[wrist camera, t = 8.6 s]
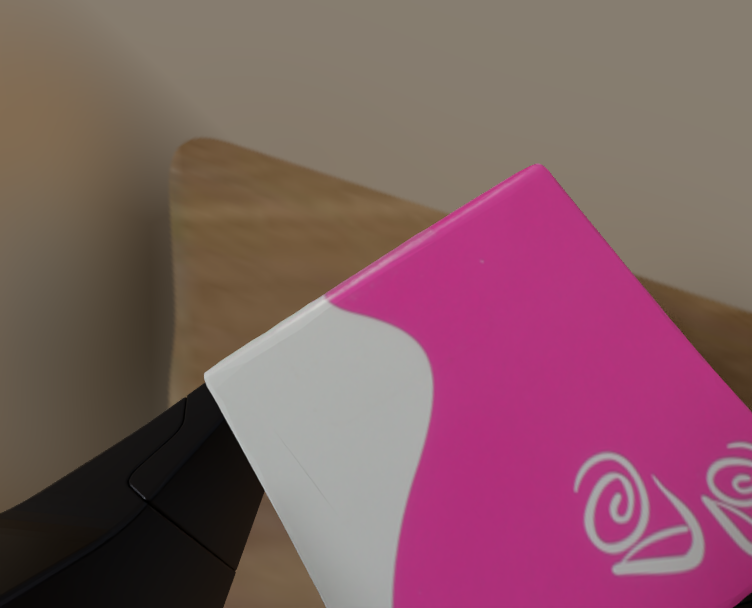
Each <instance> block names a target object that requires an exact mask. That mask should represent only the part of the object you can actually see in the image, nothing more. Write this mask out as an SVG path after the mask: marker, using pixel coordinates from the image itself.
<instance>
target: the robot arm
mask: <svg viewBox="0 0 752 608" xmlns="http://www.w3.org/2000/svg"><path fill="white" fill-rule="evenodd" d="M264 491H265V490H264V488H263V486H262V485H261V483H260V481H259V479H258V477H257V475H256V474H255V472H254V470H253V468H252V466H251V464H250V463H249V461H248V459H247V457H246V455H245V453H244V452H243V450H242V448H241V446H240V444H239V442H238V441H237V439H236V437H235V435H234V433H233V431H232V430H231V428H230V426H229V424H228V422H227V421H226V419H225V417H224V415H223V413H222V412H221V410H220V408H219V406H218V404H217V402H216V401H215V399H214V397H213V395H212V394H211V392H210V390H209V389H208V387H207V385H206V382H205V383H204V384H202V385H201V386H200V387H198V388H197V389H195V390H194V391H193V392H191V393H190V394H188V395H187V398H183V399H181V400H180V401H179V402H177V403H176V404H174V405H173V406H172V407H170V408H169V409H167V410H166V411H164V412H163V413H162V414H160V415H159V416H157V417H156V418H154V419H153V420H151V421H150V422H149V423H147V424H146V425H144V426H143V427H141V428H140V429H138V430H136V431H135V432H133V433H132V434H130V435H129V436H127V437H126V438H124V439H123V440H121V441H120V442H118V443H116V444H115V445H113V446H112V447H110V448H109V449H107V450H105V451H104V452H102V453H101V454H99V455H98V456H96V457H94V458H93V459H91V460H90V461H88V462H86V463H85V464H83V465H82V466H80V467H78V468H77V469H76V470H74V471H72V472H71V473H69V474H67V475H66V476H64V477H63V478H61V479H59V480H58V481H56V482H55V483H53V484H52V485H50V486H48V487H47V488H45V489H44V490H42V491H41V492H39V493H37V494H35V495H34V496H32V497H30V498H29V499H27V500H25V501H23V502H22V503H20V504H18V505H16V506H14V507H12V508H11V509H8V510H6V511H4V512H2V513H0V608H223V607H224V604H225V601H226V598H227V596H228V593H229V590H230V587H231V584H232V582H233V579H234V576H235V573H236V572H235V570H236V569H237V567H238V564H239V561H240V559H241V556H242V553H243V550H244V547H245V545H246V542H247V539H248V536H249V533H250V531H251V528H252V525H253V522H254V519H255V517H256V514H257V511H258V508H259V505H260V503H261V500H262V497H263V494H264ZM733 608H752V593H750V594H749V595H747V596H746V597H745V598H744V599H743V600H742V601H740V602H739V603H738V604H737V605H736V606H734V607H733Z"/></svg>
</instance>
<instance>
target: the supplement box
mask: <svg viewBox="0 0 752 608" xmlns="http://www.w3.org/2000/svg"><path fill="white" fill-rule="evenodd" d="M204 379H205V382H206V385H207V387H208V389H209V390H210V392H211V394H212V395H213V397H214V399H215V401H216V402H217V404H218V406H219V408H220V410H221V412H222V413H223V415H224V417H225V419H226V421H227V422H228V424H229V426H230V428H231V430H232V431H233V433H234V435H235V437H236V439H237V441H238V442H239V444H240V446H241V448H242V450H243V452H244V453H245V455H246V457H247V459H248V461H249V463H250V464H251V466H252V468H253V470H254V472H255V474H256V475H257V477H258V479H259V481H260V483H261V485H262V486H263V488H264V490H265V492H266V494H267V496H268V497H269V499H270V501H271V503H272V505H273V507H274V508H275V510H276V512H277V514H278V516H279V518H280V520H281V521H282V523H283V525H284V527H285V529H286V531H287V533H288V535H289V537H290V538H291V540H292V542H293V544H294V546H295V548H296V550H297V552H298V554H299V556H300V558H301V560H302V562H303V563H304V565H305V567H306V569H307V571H308V573H309V575H310V577H311V579H312V581H313V583H314V584H315V586H316V588H317V590H318V592H319V594H320V596H321V598H322V600H323V602H324V604H325V606H326V608H733V607H734V606H736V605H737V604H738V603H739V602H740V601H742V600H743V599H744V598H745V597H746V596H747V595H749V594H750V593H752V412H751V410H750V409H749V408H748V407H747V406H746V405H745V404H744V403H743V402H742V400H741V399H740V398H739V397H738V396H737V395H736V394H735V393H734V392H733V391H732V390H731V389H730V387H729V386H728V385H727V384H726V383H725V382H724V381H723V380H722V379H721V378H720V376H719V375H718V374H717V373H716V372H715V371H714V370H713V369H712V367H711V366H710V365H709V364H708V363H707V361H706V360H705V359H704V358H703V357H702V356H701V354H700V353H699V352H698V351H697V350H696V349H695V348H694V347H693V345H692V344H691V343H690V342H689V341H688V339H687V338H686V337H685V336H684V335H683V333H682V332H681V331H680V330H679V328H678V327H677V326H676V325H675V324H674V323H673V322H672V321H671V320H670V318H669V317H668V316H667V315H666V313H665V312H664V311H663V310H662V308H661V307H660V306H659V304H658V303H657V302H656V301H655V300H654V298H653V297H652V296H651V295H650V294H649V292H648V291H647V290H646V289H645V288H644V287H643V285H642V284H641V283H640V282H639V281H638V279H637V278H636V277H635V276H634V275H633V273H632V272H631V271H630V270H629V269H628V267H627V266H626V265H625V264H624V262H623V261H622V260H621V259H620V258H619V256H618V255H617V254H616V253H615V251H614V250H613V249H612V248H611V247H610V245H609V244H608V243H607V242H606V240H605V239H604V238H603V237H602V236H601V234H600V233H599V232H598V231H597V229H596V228H595V227H594V226H593V225H592V224H591V222H590V221H589V220H588V219H587V217H586V216H585V215H584V214H583V212H582V211H581V210H580V209H579V208H578V206H577V205H576V204H575V203H574V201H573V200H572V199H571V198H570V197H569V196H568V194H567V193H566V192H565V190H564V189H563V188H562V187H561V185H560V184H559V183H558V182H557V181H556V179H555V178H554V177H553V176H552V175H551V173H550V172H549V171H548V170H547V169H546V168H545V167H544V166H543V165H541V164H538V163H537V164H534V165H532V166H529V167H527V168H525V169H524V170H521V171H519V172H517V173H516V174H514V175H512V176H511V177H509V178H507V179H506V180H504V181H502V182H501V183H499V184H497V185H496V186H495V187H493V188H491V189H489V190H488V191H486V192H485V193H483V194H481V195H480V196H478V197H476V198H475V199H473V200H472V201H470V202H468V203H467V204H465V205H463V206H462V207H460V208H458V209H457V210H455V211H454V212H452V213H451V214H449V215H448V216H446V217H445V218H443V219H441V220H440V221H438V222H437V223H435V224H433V225H432V226H430V227H429V228H427V229H425V230H424V231H422V232H420V233H418V234H417V235H415V236H413V237H412V238H410V239H409V240H407V241H406V242H404V243H403V244H401V245H400V246H398V247H397V248H395V249H394V250H392V251H390V252H389V253H387V254H386V255H384V256H383V257H381V258H380V259H378V260H376V261H375V262H373V263H372V264H370V265H369V266H367V267H366V268H364V269H363V270H361V271H360V272H358V273H356V274H355V275H353V276H352V277H350V278H349V279H347V280H345V281H344V282H342V283H341V284H339V285H338V286H336V287H335V288H333V289H332V290H330V291H329V292H327V293H326V294H324V295H323V296H321V297H320V298H318V299H316V300H314V301H313V302H311V303H309V304H308V305H306V306H305V307H304V308H302V309H301V310H299V311H298V312H296V313H295V314H293V315H291V316H290V317H288V318H287V319H285V320H283V321H282V322H280V323H279V324H277V325H276V326H275V327H273V328H272V329H270V330H269V331H267V332H266V333H264V334H263V335H261V336H259V337H257V338H256V339H254V340H252V341H251V342H249V343H248V344H246V345H245V346H243V347H242V348H240V349H239V350H237V351H236V352H234V353H233V354H231V355H230V356H228V357H226V358H225V359H223V360H222V361H220V362H219V363H218V364H216V365H215V366H214V367H212V368H211V369H209V370H208V371H207V372H205V374H204Z"/></svg>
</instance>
